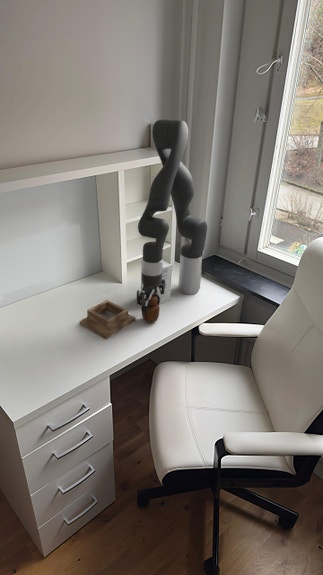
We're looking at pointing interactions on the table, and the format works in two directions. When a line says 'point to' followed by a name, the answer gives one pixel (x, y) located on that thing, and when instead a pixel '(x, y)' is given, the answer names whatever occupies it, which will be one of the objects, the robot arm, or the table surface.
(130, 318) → the holder
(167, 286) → the supplement box
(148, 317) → the wooden figurine
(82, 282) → the table surface
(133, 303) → the table surface
